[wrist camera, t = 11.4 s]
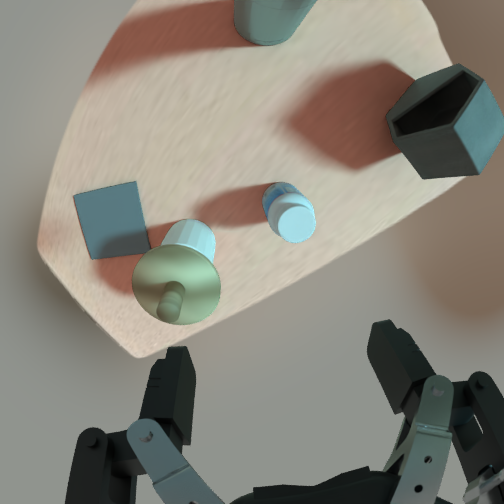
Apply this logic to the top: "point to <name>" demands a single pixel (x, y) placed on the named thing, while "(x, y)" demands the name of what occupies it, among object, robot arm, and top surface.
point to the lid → (176, 284)
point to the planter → (447, 123)
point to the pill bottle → (288, 212)
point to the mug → (192, 237)
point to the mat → (113, 221)
